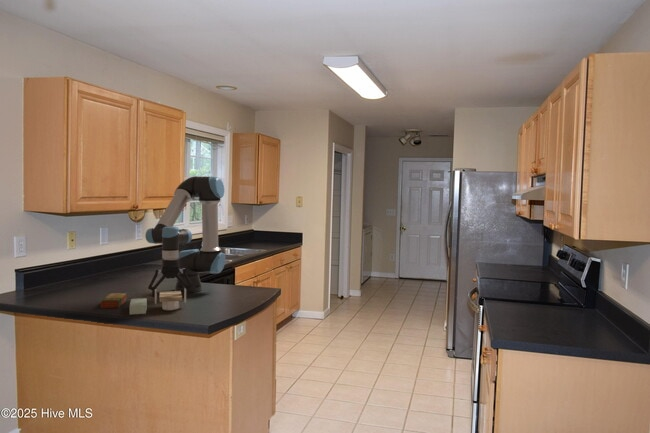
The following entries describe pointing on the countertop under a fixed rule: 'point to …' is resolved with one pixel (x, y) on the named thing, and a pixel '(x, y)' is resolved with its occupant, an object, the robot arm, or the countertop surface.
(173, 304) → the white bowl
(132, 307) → the green stand
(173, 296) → the maple board
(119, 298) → the carton
